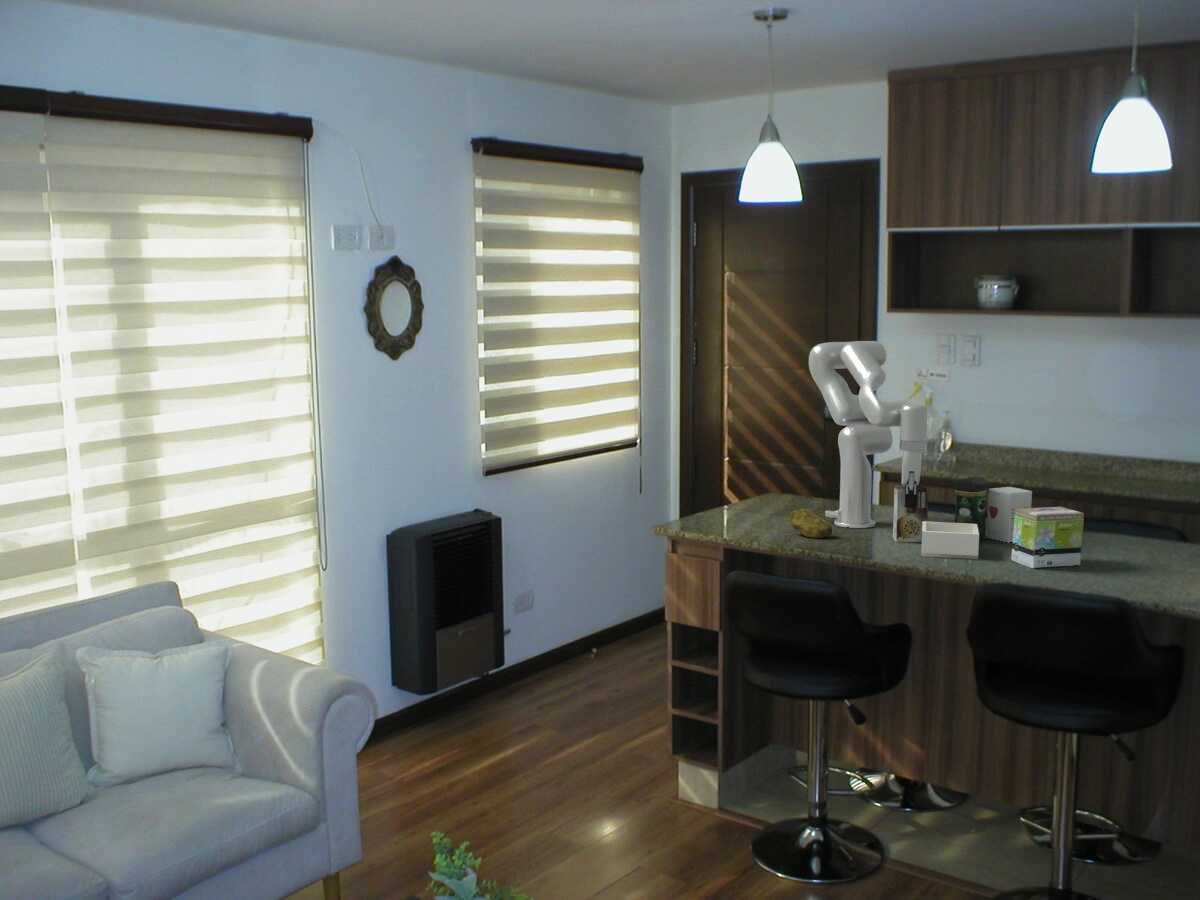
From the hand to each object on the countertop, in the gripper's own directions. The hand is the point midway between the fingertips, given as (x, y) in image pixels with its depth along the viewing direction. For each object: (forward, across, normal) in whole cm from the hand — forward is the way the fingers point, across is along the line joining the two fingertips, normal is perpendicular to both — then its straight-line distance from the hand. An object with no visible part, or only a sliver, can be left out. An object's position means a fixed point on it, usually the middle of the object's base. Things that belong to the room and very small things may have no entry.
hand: (910, 504), depth 344 cm
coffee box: (+11, 0, 0) cm, 11 cm away
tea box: (+11, +21, +36) cm, 43 cm away
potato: (+11, +2, -29) cm, 31 cm away
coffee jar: (+11, -6, +17) cm, 21 cm away
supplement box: (+11, -9, +28) cm, 31 cm away
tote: (+11, +14, +11) cm, 20 cm away
